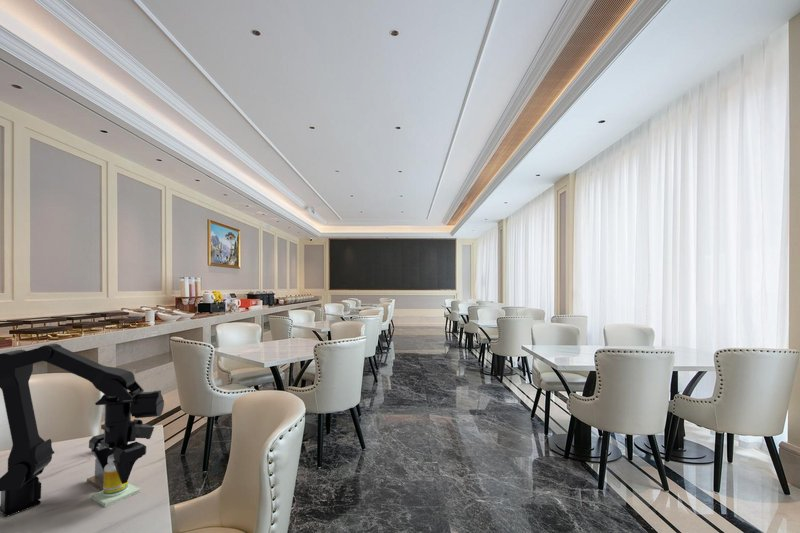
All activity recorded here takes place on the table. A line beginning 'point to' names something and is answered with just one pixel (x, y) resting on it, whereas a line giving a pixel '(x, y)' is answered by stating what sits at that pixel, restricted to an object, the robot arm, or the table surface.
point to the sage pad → (110, 500)
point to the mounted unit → (97, 477)
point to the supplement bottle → (112, 480)
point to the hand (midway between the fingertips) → (116, 478)
